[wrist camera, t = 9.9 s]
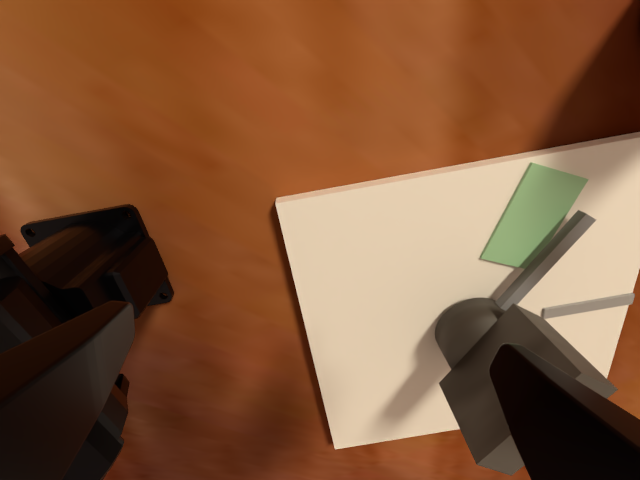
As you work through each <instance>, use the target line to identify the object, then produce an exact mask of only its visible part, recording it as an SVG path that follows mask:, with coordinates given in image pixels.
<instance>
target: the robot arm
mask: <svg viewBox="0 0 640 480" xmlns="http://www.w3.org/2000/svg"><path fill="white" fill-rule="evenodd" d="M125 211H128V212H129V213H130V214H131V217H129V216H127V215H126V214H125ZM31 229H32V230H34V231H35V233H33V232H32V231H31ZM21 234H22V235H23V237H24V239H25V240H26V242H27V243H28V245H29V247H30V248H28V249H27V250H25V251H23V252H22V253H20V254H18V253H17V252H16V251H15V250H14V249H13V248H12V247H13V246H15V245H14V244H13V243H12V241H11V240H10V239H9V238H8V237H7V236H6V234H3V235H1V236H0V480H103V478H104V477H105V475H106V474H107V472H108V471H109V470H110V469H111V467H112V465H113V464H114V462H115V460H116V458H117V457H118V455H119V453H120V452H121V449H122V447H123V444H124V439H123V438H122V437H121V436H120V435H121V433H122V430H123V427H124V424H125V421H126V417H127V414H128V405H127V393H128V387H129V381H128V379H127V378H126V377H125V376H124V375H123V374H119V372H120V370H121V367H122V365H123V363H124V361H125V358H126V356H127V354H128V352H129V349H130V347H131V345H132V343H133V340H134V336H135V323H134V319H136V318H138V317H139V316H140V315H141V313H142V312H143V311H144V309H145V308H146V306H149V305H155V304H161V303H166V302H169V301H170V300H171V299H172V297H173V295H174V291H173V289H172V286H171V284H170V282H169V280H168V277H167V276H168V272H167V270H166V267H165V265H164V263H163V261H162V258H161V256H160V254H159V251H158V249H157V247H156V245H155V242H154V240H153V239H152V238H151V237H150V236H149V234H148V232H147V230H146V227H145V225H144V223H143V220H142V218H141V216H140V214H139V211H138V210H137V208H136V207H134V206H133V205H130V204H125V205H120V206H115V207H109V208H104V209H98V210H93V211H87V212H82V213H76V214H71V215H66V216H60V217H55V218H49V219H44V220H38V221H33V222H29V223H27V224H25V225H23V226H22V227H21ZM162 293H166V294H167V295H168V296H165V295H163V294H162ZM489 375H490V378H491V381H492V384H493V387H494V389H495V392H496V395H497V398H498V401H499V403H500V406H501V409H502V412H503V415H504V417H505V420H506V423H507V426H508V428H509V431H510V433H511V436H512V438H513V441H514V443H515V445H516V448H517V450H518V452H519V454H520V456H521V458H522V461H523V463H524V465H525V467H526V469H527V471H528V474H529V476H530V478H531V480H640V420H639V419H638V418H636V417H635V416H633V415H631V414H630V413H628V412H627V411H625V410H624V409H622V408H620V407H619V406H617V405H616V404H614V403H612V402H611V401H609V400H608V399H606V398H605V397H603V396H601V395H600V394H598V393H597V392H595V391H593V390H592V389H590V388H589V387H587V386H585V385H584V384H582V383H581V382H579V381H578V380H576V379H574V378H573V377H571V376H570V375H568V374H566V373H565V372H563V371H562V370H560V369H559V368H557V367H555V366H554V365H552V364H551V363H549V362H547V361H546V360H544V359H543V358H541V357H539V356H538V355H536V354H535V353H533V352H532V351H530V350H528V349H527V348H525V347H524V346H522V345H520V344H514V343H503V344H502V345H500V347H499V349H498V351H497V352H496V354H495V356H494V358H493V360H492V362H491V364H490V366H489Z"/></svg>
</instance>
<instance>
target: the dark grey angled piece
mask: <svg viewBox="0 0 640 480" xmlns="http://www.w3.org/2000/svg"><path fill="white" fill-rule="evenodd" d="M595 221H596V219H594V218H593V217H591V216H589V215H588V214H586V213H584V212H582V211H580V210H578V211H577V212H576V213H575V214H574V215H573V216H572V217H571V218H570V220H569V221H568V222H567V223H566V224H565V225H564V226H563V227H562V228H561V230H560V231H559V232H558V233H557V234H556V235H555V236H554V237H553V238H552V239H551V241H550V242H549V243H548V244H547V245H546V246H545V247H544V248H543V249H542V251H541V252H540V253H539V254H538V255H537V256H536V257H535V258H534V259H533V261H532V262H531V263H530V264H529V265H528V266H527V267H526V268H525V269H524V271H523V272H522V273H521V274H520V275H519V276H518V277H517V278H516V279H515V281H514V282H513V283H512V284H511V285H510V286H509V287H508V288H507V289H506V291H505V292H504V293H503V294H502V295H501V296H500V297H499V298H498V299H497V300H493V299H490V298H471V299H467V300H464V301H462V302H459V303H457V304H455V305H454V306H452V307H451V308H449V309H448V310H447V311H446V312H445V313H444V314H443V315H442V316H441V318H440V319H439V321H438V323H437V325H436V329H435V339H436V342H437V344H438V346H439V348H440V350H441V351H442V353H443V355H444V357H445V359H446V361H447V363H448V365H449V366H450V368H451V371H450V372H449V373H448V374H447V375H446V376H445V377H444V378H443V379H442V380H441V381H440V382H439V385H440V387H441V389H442V391H443V393H444V396H445V398H446V400H447V402H448V404H449V406H450V408H451V411H452V413H453V415H454V417H455V419H456V421H457V423H458V426H459V428H460V430H461V432H462V434H463V436H464V438H465V441H466V443H467V445H468V447H469V449H470V451H471V453H472V456H473V458H474V460H475V462H476V464H477V465H480V466H483V467H486V468H489V469H492V470H495V471H499V472H502V473H505V474H508V475H513V474H514V473H515V472H516V471H518V470H519V469H520V468H521V467H523V466H524V463H523V461H522V458H521V456H520V454H519V452H518V450H517V448H516V445H515V443H514V441H513V438H512V436H511V433H510V431H509V428H508V426H507V423H506V420H505V417H504V415H503V412H502V409H501V406H500V403H499V401H498V398H497V395H496V392H495V389H494V387H493V384H492V381H491V378H490V375H489V366H490V364H491V362H492V360H493V358H494V356H495V354H496V352H497V351H498V349H499V347H500V345H502V344H503V343H514V344H520V345H522V346H524V347H525V348H527V349H528V350H530V351H532V352H533V353H535V354H536V355H538V356H539V357H541V358H543V359H544V360H546V361H547V362H549V363H551V364H552V365H554V366H555V367H557V368H559V369H560V370H562V371H563V372H565V373H566V374H568V375H570V376H571V377H573V378H574V379H576V380H578V381H579V382H581V383H582V384H584V385H585V386H587V387H589V388H590V389H592V390H593V391H595V392H597V393H598V394H600V395H601V396H603V397H605V398H606V399H607V398H608V397H609V396H611V395H612V394H613V393H614V392H615V391H617V390H618V389H617V388H616V387H615V386H614V385H613V384H612V383H611V382H610V381H609V380H608V379H606V378H605V377H604V376H603V375H602V374H601V373H600V372H599V371H598V370H597V369H596V368H595V367H594V366H593V365H592V364H591V363H590V362H589V361H588V360H587V359H586V358H585V357H583V356H582V355H581V354H580V353H579V352H578V351H577V350H576V349H575V348H574V347H573V346H572V345H571V344H570V343H569V342H568V341H567V340H566V339H565V338H564V337H563V336H561V335H560V334H559V333H558V332H557V331H556V330H555V329H554V328H553V327H552V326H551V325H550V324H549V323H548V322H547V321H546V320H545V319H544V318H542V317H540V316H538V315H536V314H534V313H532V312H530V311H528V310H526V309H524V308H522V307H520V306H518V305H517V304H518V303H519V302H520V301H521V300H522V299H523V298H524V297H525V296H526V295H527V294H528V293H529V291H530V290H531V289H532V288H533V287H534V286H535V285H536V284H537V283H538V282H539V281H540V280H541V279H542V278H543V276H544V275H545V274H546V273H547V272H548V271H549V270H550V269H551V268H552V267H553V266H554V265H555V264H556V263H557V262H558V260H559V259H560V258H561V257H562V256H563V255H564V254H565V253H566V252H567V251H568V250H569V249H570V248H571V247H572V246H573V244H574V243H575V242H576V241H577V240H578V239H579V238H580V237H581V236H582V235H583V234H584V233H585V232H586V231H587V230H588V228H589V227H590V226H591V225H592V224H593V223H594V222H595Z"/></svg>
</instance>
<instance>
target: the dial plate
mask: <svg viewBox="0 0 640 480" xmlns="http://www.w3.org/2000/svg"><path fill="white" fill-rule="evenodd" d="M275 205H276V209H277V213H278V217H279V221H280V225H281V229H282V234H283V238H284V242H285V246H286V250H287V254H288V258H289V262H290V266H291V271H292V275H293V279H294V283H295V287H296V291H297V295H298V299H299V304H300V308H301V312H302V316H303V320H304V324H305V328H306V332H307V336H308V341H309V345H310V349H311V353H312V357H313V361H314V365H315V369H316V373H317V378H318V382H319V386H320V390H321V394H322V398H323V402H324V406H325V411H326V415H327V419H328V423H329V427H330V431H331V435H332V439H333V443H334V448H335V449H341V448H347V447H353V446H359V445H365V444H371V443H377V442H383V441H389V440H395V439H401V438H408V437H414V436H420V435H426V434H432V433H438V432H444V431H450V430H456V429H460V428H459V426H458V423H457V421H456V419H455V417H454V415H453V413H452V411H451V408H450V406H449V404H448V402H447V400H446V398H445V396H444V393H443V391H442V389H441V387H440V385H439V382H440V381H441V380H442V379H443V378H444V377H445V376H446V375H447V374H448V373H449V372H450V371H451V368H450V366H449V365H448V363H447V361H446V359H445V357H444V355H443V353H442V351H441V350H440V348H439V346H438V344H437V342H436V339H435V329H436V325H437V323H438V321H439V319H440V318H441V316H442V315H443V314H444V313H445V312H446V311H447V310H448V309H449V308H451V307H452V306H454V305H455V304H457V303H459V302H462V301H464V300H467V299H471V298H490V299H493V300H497V299H498V298H499V297H500V296H501V295H502V294H503V293H504V292H505V291H506V289H507V288H508V287H509V286H510V285H511V284H512V283H513V282H514V281H515V279H516V278H517V277H518V276H519V275H520V274H521V273H522V272H523V271H524V269H525V268H526V267H527V266H528V265H529V264H530V263H531V262H532V261H533V259H534V258H535V257H536V256H537V255H538V254H539V253H540V252H541V251H542V249H543V248H544V247H545V246H546V245H547V244H548V243H549V242H550V241H551V239H552V238H553V237H554V236H555V235H556V234H557V233H558V232H559V231H560V230H561V228H562V227H563V226H564V225H565V224H566V223H567V222H568V221H569V220H570V218H571V217H572V216H573V215H574V214H575V213H576V212H577V211H578V210H580V211H582V212H584V213H586V214H588V215H589V216H591V217H593V218H594V219H596V221H595V222H594V223H593V224H592V225H591V226H590V227H589V228H588V230H587V231H586V232H585V233H584V234H583V235H582V236H581V237H580V238H579V239H578V240H577V241H576V242H575V243H574V244H573V246H572V247H571V248H570V249H569V250H568V251H567V252H566V253H565V254H564V255H563V256H562V257H561V258H560V259H559V260H558V262H557V263H556V264H555V265H554V266H553V267H552V268H551V269H550V270H549V271H548V272H547V273H546V274H545V275H544V276H543V278H542V279H541V280H540V281H539V282H538V283H537V284H536V285H535V286H534V287H533V288H532V289H531V290H530V291H529V293H528V294H527V295H526V296H525V297H524V298H523V299H522V300H521V301H520V302H519V303H518V304H517V305H518V306H520V307H522V308H524V309H526V310H528V311H530V312H532V313H534V314H536V315H538V316H540V317H542V318H544V319H545V320H546V321H547V322H548V323H549V324H550V325H551V326H552V327H553V328H554V329H555V330H556V331H557V332H558V333H559V334H560V335H561V336H563V337H564V338H565V339H566V340H567V341H568V342H569V343H570V344H571V345H572V346H573V347H574V348H575V349H576V350H577V351H578V352H579V353H580V354H581V355H582V356H583V357H585V358H586V359H587V360H588V361H589V362H590V363H591V364H592V365H593V366H594V367H595V368H596V369H597V370H598V371H599V372H600V373H601V374H602V375H603V376H604V377H605V378H606V379H607V376H608V373H609V370H610V366H611V363H612V359H613V356H614V353H615V349H616V346H617V343H618V339H619V336H620V333H621V329H622V326H623V323H624V319H625V316H626V312H627V309H628V306H629V304H632V303H633V300H634V297H635V294H634V293H632V292H633V289H634V286H635V282H636V279H637V276H638V272H639V269H640V132H635V133H630V134H624V135H619V136H614V137H608V138H603V139H597V140H592V141H586V142H581V143H575V144H570V145H564V146H559V147H553V148H548V149H542V150H537V151H531V152H526V153H520V154H515V155H509V156H504V157H498V158H493V159H487V160H482V161H476V162H471V163H465V164H460V165H454V166H449V167H443V168H438V169H432V170H427V171H422V172H416V173H411V174H405V175H400V176H394V177H389V178H383V179H378V180H372V181H367V182H361V183H356V184H350V185H345V186H339V187H334V188H328V189H323V190H317V191H312V192H306V193H301V194H295V195H290V196H284V197H279V198H276V202H275Z"/></svg>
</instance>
